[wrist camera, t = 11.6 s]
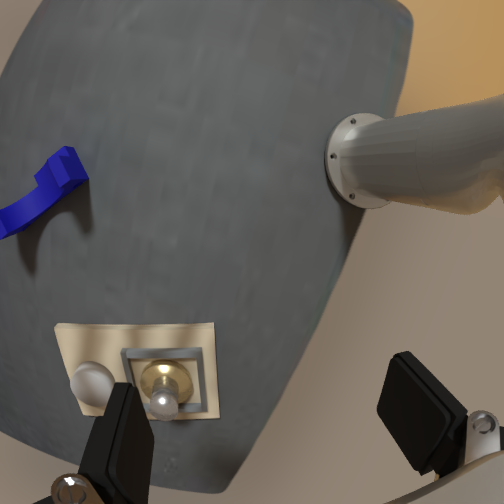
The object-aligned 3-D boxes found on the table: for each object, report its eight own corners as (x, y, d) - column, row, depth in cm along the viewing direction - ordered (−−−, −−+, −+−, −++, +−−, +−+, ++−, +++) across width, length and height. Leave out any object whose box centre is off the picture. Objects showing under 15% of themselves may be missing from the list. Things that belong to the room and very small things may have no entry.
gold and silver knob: (189, 359, 37) (189, 389, 31) (193, 398, 39) (194, 429, 33) (137, 358, 36) (129, 389, 30) (145, 397, 38) (140, 429, 32)
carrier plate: (213, 322, 38) (215, 340, 34) (218, 411, 42) (221, 431, 38) (57, 323, 35) (45, 338, 30) (85, 408, 38) (79, 427, 34)
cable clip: (74, 147, 30) (53, 143, 24) (89, 178, 31) (70, 179, 26) (10, 201, 30) (-15, 207, 24) (24, 230, 31) (0, 239, 25)
